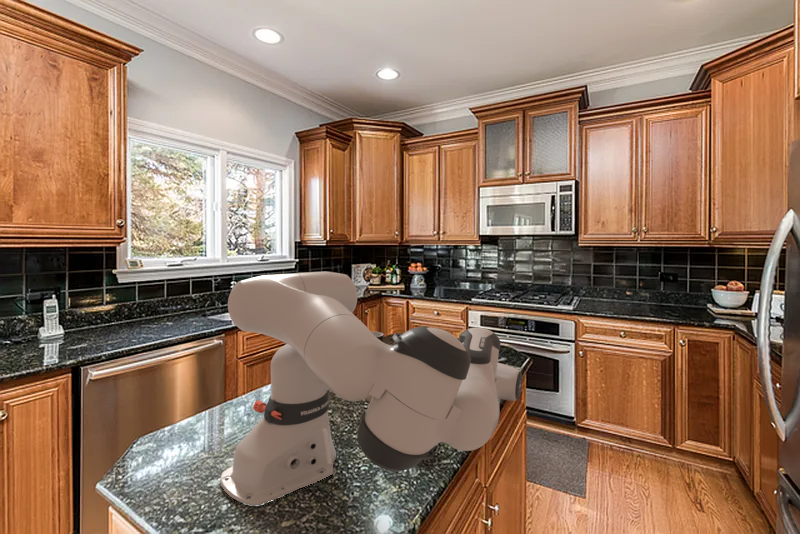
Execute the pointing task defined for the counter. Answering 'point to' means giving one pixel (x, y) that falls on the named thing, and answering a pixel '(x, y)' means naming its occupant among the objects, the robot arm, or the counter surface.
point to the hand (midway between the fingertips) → (423, 361)
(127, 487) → the counter surface
